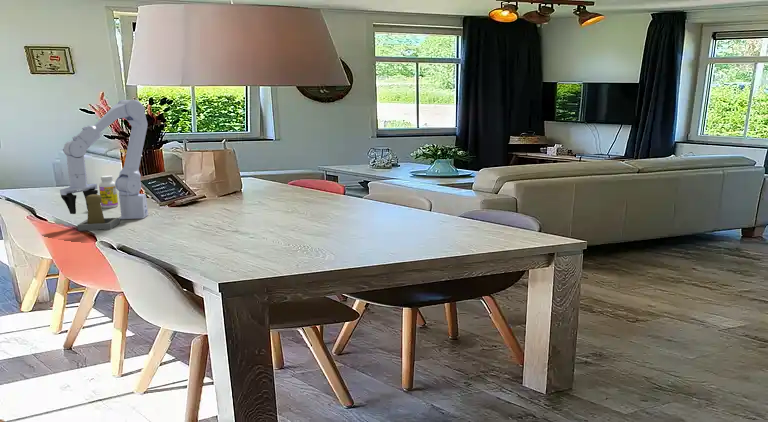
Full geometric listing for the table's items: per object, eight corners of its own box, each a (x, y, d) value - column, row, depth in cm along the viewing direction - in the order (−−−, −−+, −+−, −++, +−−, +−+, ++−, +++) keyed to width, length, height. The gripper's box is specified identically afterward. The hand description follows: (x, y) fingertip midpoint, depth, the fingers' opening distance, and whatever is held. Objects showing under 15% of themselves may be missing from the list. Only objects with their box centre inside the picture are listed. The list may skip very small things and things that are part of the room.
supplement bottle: (98, 208, 284) (94, 177, 282) (106, 205, 290) (103, 175, 288) (113, 208, 283) (109, 177, 280) (121, 205, 289) (118, 175, 287)
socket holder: (119, 222, 251) (119, 217, 251) (110, 229, 241) (109, 223, 240) (88, 224, 251) (88, 218, 250) (78, 230, 240) (77, 225, 239)
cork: (97, 227, 242) (94, 196, 240) (83, 226, 244) (80, 195, 242) (109, 223, 248) (106, 193, 246) (95, 223, 250) (91, 193, 248)
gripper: (85, 171, 254) (89, 207, 256) (52, 176, 241) (56, 215, 243) (99, 171, 251) (103, 208, 253) (66, 177, 238) (71, 216, 240)
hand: (81, 211), depth 248 cm, fingers open, 7 cm apart
